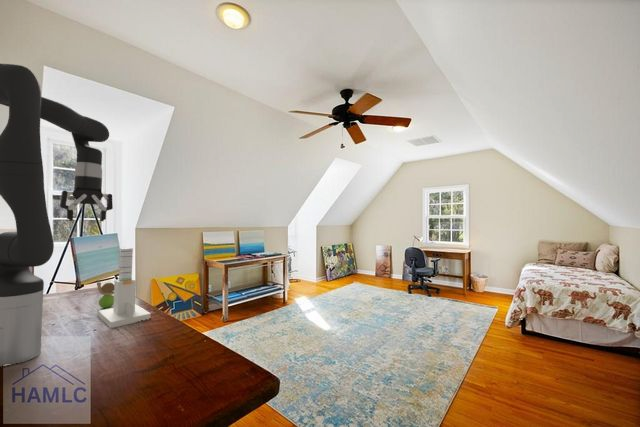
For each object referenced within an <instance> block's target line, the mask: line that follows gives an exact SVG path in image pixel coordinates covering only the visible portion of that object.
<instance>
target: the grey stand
mask: <svg viewBox="0 0 640 427" xmlns="http://www.w3.org/2000/svg"><path fill="white" fill-rule="evenodd" d="M113 284H114V291H113V292H114V293H113V296H114V305H113V307H109V308H103V309H100V310H97V317H98V318H99V319H101V320H102V321H103V322H104V323H105V324H106V325H107V326H108V327H109V328H110V329H114V328H117V327H121V326H125V325H130V324H134V323H139V322H142V321H141V320H143V321H146V320H145V319H147V320H150V319H149V318H151V317H152V316H151V314H152V313H151V312H149V311H148V310H146V309H144V308H142V307H141V306H140V305H138V304H136V287H137V279H135V278H133V277H132V280H128V281H119V278H117V279H114V283H113ZM138 321H139V322H138Z"/></svg>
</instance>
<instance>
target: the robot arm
mask: <svg viewBox="0 0 640 427" xmlns="http://www.w3.org/2000/svg"><path fill="white" fill-rule="evenodd" d="M0 105H2V106H5V107H8V119H7V123H6V125H5V127H4V129H3V131H2V132H1V133H0V197H1V198H2V199H3V200H4V201H5V203H6V204H7V205H8V207H9V208H10V210H11V212H12V213H13V214H12V215H13V216H14V221H15V228H16V231H4V232H1V233H0V366H2V365H5V364H14V365H16V364H15V363H18V364H21V362H22V363H25V362H28V361H29V360H32V359H34V358H36V357H38V356H39V355H40V354H41V353H42V352H41V350H42V332H43V329H42V328H43V309H44V308H43V307H44V306H43V304H44V286H45V282H44V279H42V278H41V277H39V276H37V275H35V274H34V273H32V271H31V270H30V267H31V268H35V267H40V266H44V265H45V264H46V263H48V262H49V260H50V259H51V258H52V256H53V254H54V248H55V247H54V246H55V244H54V237H53V232H52V228H51V224H50V219H49V215H48V209H47V208H48V207H47V200H46V192H45V176H44V175H45V173H44V165H43V164H44V163H43V156H42V144H41V120H43V121H46V122H48V123H51V125H52V124H53V125H55V126H56V127H58V128H60V129H63V130H65V131H67V132H69V133H71V135H72V139H73V142H74V146H75V149H76V150H75V151H76V163H75V167H74V185H73V186H74V189H73V191H68V190H63V191H61V196H60V203H59V208H60V209H64V210H66V219H67V220H68V221H69V222H73V221H74V210H73V209H75V207H77V206H78V205H79V204H81V205H90V206H91V205H92V206H93V205H95V206H96V207H98V208H99V210H100V211H99V221H100V222H104V221H106V219H107V211H111V210H113V209H114V208H113V205H114V204H113V194H111V193H107V194H106V193H105V194H103V192H102V187H103V167H102V164H103V163H102V162H103V152H102V150H100V148H99V149H98V148H96V147H92V146H90V143H89V142H92V143H104V142H106V141H107V140H108V139H109V137H110V131H109V129H108V127H107V126H106V125H105V124H104V123H102V122H101V121H99V120H98V119H94V118H91V117H89V116H86V115H83V114H81V113H79V112H78V111H76V110H75V109H73V108H71V107H69V106H68V105H65V104H63V103H61V102H58V101H55V100H53V99H50V98H47V97H43V96H42V90H41V85H40V82H39V80H38V77H37V76H36V74H35V73H34V72H33V71H32V70H31V69H30V68H28V67H26V66H24V65H19V64H12V63H11V64H10V63H0ZM71 195H72V197H73V198H74V199H75V200H74V201H73V202H72V203H71V204H69V205H67V199H68V198H70V197H71ZM101 199H104V200H106V207H105V205H104V204H103V203H102V201H101Z"/></svg>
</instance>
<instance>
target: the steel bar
mask: <svg viewBox="0 0 640 427" xmlns="http://www.w3.org/2000/svg"><path fill="white" fill-rule="evenodd" d="M133 251H134V249H133V248H132V247H120V248H119V270H118V279H119V281H128V280H132V278H133V257H134V256H133Z"/></svg>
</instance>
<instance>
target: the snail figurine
mask: <svg viewBox="0 0 640 427" xmlns="http://www.w3.org/2000/svg"><path fill="white" fill-rule="evenodd" d="M99 280H100V279H96V282H97V283H96V287H97V290H98V292H99V294H101V295H102V296H100V298H99V300H98V305H99V306H100V308H103V309H109V308H112V307H114V283H113V282H106V283H104V284H103V285H102V282H101V281H99Z"/></svg>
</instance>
